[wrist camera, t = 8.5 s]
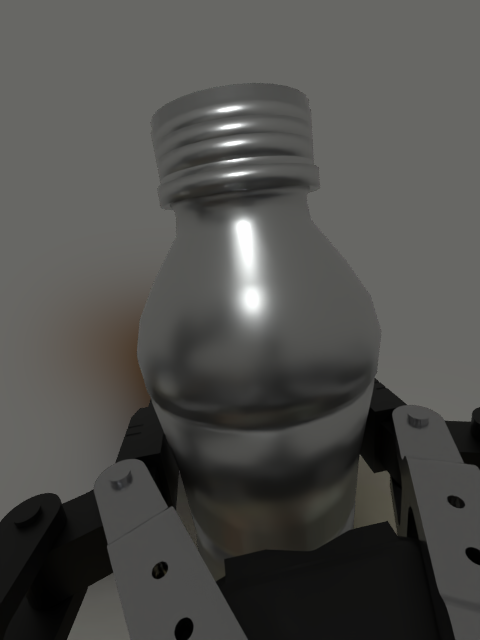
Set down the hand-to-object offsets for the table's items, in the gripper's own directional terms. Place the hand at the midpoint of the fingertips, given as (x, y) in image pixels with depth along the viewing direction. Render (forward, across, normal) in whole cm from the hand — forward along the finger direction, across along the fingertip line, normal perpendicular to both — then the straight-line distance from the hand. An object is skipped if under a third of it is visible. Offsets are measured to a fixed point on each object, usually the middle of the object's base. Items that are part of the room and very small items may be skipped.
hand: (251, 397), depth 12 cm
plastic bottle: (-3, 0, +11) cm, 11 cm away
